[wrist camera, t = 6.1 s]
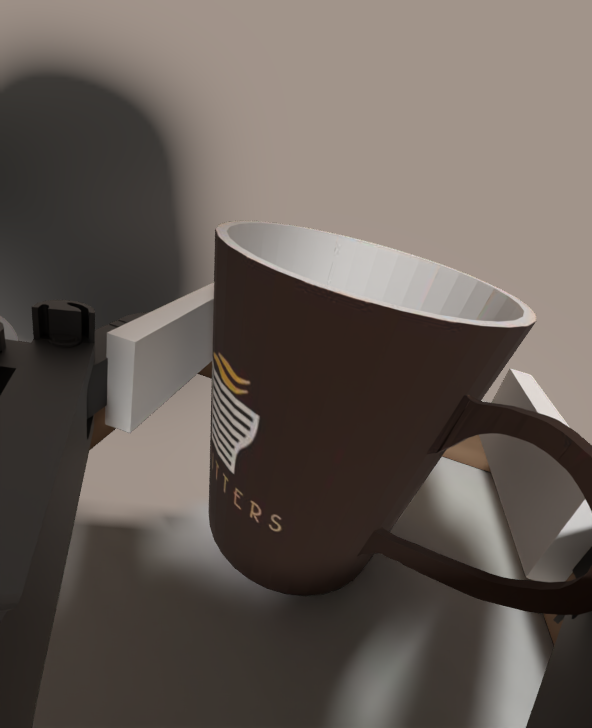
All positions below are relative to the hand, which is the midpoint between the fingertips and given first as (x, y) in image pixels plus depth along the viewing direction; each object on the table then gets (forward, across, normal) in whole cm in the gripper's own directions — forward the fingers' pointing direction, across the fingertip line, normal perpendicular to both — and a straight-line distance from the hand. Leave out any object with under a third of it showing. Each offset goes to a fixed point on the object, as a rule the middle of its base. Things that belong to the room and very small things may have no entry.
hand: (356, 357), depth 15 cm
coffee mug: (-4, 0, -6) cm, 7 cm away
